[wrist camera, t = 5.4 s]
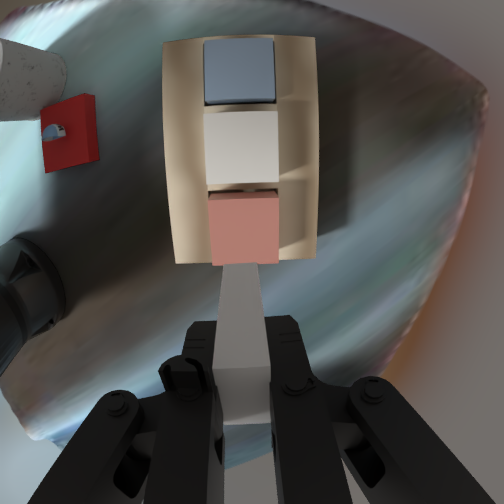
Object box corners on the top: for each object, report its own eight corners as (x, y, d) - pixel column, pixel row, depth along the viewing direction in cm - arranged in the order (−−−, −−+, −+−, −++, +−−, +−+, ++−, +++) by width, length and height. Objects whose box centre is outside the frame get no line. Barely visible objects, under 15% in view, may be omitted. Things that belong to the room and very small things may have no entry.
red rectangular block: (52, 110, 26) (22, 109, 20) (95, 95, 26) (67, 89, 20) (57, 170, 29) (27, 178, 23) (100, 159, 29) (72, 165, 23)
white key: (210, 179, 25) (206, 184, 22) (207, 116, 23) (203, 113, 20) (274, 177, 25) (278, 182, 23) (273, 114, 23) (277, 111, 20)
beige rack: (184, 245, 33) (175, 263, 28) (174, 56, 25) (162, 42, 20) (305, 241, 33) (315, 258, 28) (304, 51, 25) (314, 37, 20)
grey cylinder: (12, 122, 25) (-51, 129, 14) (24, 58, 22) (-34, 47, 10) (59, 119, 26) (-9, 121, 15) (74, 48, 23) (14, 25, 11)
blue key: (209, 105, 24) (205, 100, 21) (208, 50, 22) (204, 40, 19) (271, 102, 24) (275, 98, 21) (269, 48, 22) (272, 38, 19)
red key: (215, 252, 28) (212, 265, 25) (211, 193, 26) (207, 200, 23) (275, 250, 28) (278, 263, 25) (274, 191, 26) (278, 197, 23)
